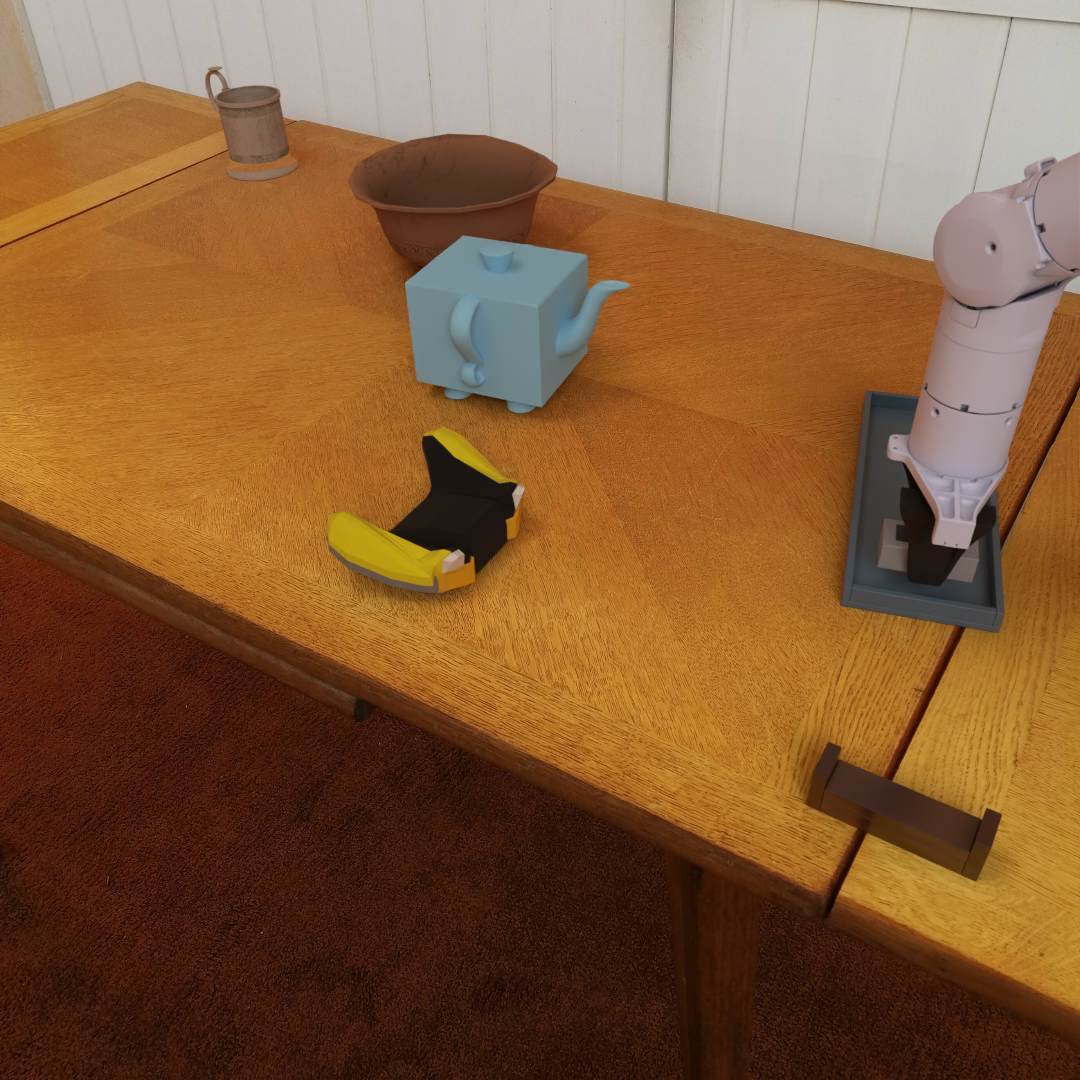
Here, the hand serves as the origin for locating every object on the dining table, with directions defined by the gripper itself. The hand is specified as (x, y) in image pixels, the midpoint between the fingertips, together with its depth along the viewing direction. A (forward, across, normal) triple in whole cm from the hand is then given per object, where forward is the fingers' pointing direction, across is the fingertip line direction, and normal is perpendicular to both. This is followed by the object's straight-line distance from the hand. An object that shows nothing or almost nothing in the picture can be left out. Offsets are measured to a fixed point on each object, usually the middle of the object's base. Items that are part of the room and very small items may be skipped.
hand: (924, 563), depth 68 cm
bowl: (+2, -42, -49) cm, 65 cm away
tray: (+2, -10, 0) cm, 10 cm away
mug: (+2, -66, -90) cm, 112 cm away
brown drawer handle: (+2, +20, -1) cm, 21 cm away
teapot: (+2, -19, -34) cm, 39 cm away
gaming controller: (+2, +4, -34) cm, 34 cm away
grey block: (0, 0, 0) cm, 0 cm away
